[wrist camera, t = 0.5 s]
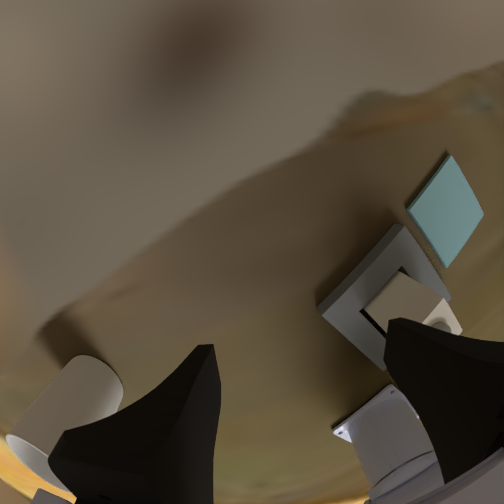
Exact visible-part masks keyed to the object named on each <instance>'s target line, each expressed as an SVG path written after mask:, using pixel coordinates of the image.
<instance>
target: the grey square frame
mask: <svg viewBox="0 0 504 504" xmlns="http://www.w3.org/2000/svg"><path fill="white" fill-rule="evenodd" d="M398 269H400V271H401V272H402V273H403V274H405V275H407V276H408V277H410V278H412V279H414V280H415V281H417V282H419V283H420V284H422V285H424V286H426V287H427V288H429V289H431V290H432V291H434V292H436V293H437V294H439V295H441V296H442V297H444V299H445V300H446V302H447V303H448V302H449V300H450V299H451V298H452V297H451V296H450V294H449V292H448V290H447V289H446V287H445V285H444V284H443V282H442V280H441V279H440V277H439V276H438V274H437V272H436V271H435V269H434V268H433V266H432V264H431V263H430V261H429V260H428V258H427V257H426V255H425V254H424V252H423V251H422V249H421V248H420V246H419V245H418V243H417V242H416V241H415V239H414V238H413V236H412V235H411V234H410V232H409V231H408V229H407V228H406V227H405V226H404V225H400V224H397V223H395V224H394V225H393V226H392V227H391V228H390V229H389V231H388V232H387V233H386V234H385V235H384V236H383V237H382V239H381V240H380V241H379V242H378V243H377V244H376V245H375V246H374V248H373V249H372V250H371V251H370V252H369V253H368V254H367V255H366V256H365V258H364V259H363V260H362V261H361V262H360V263H359V264H358V265H357V266H356V267H355V268H354V269H353V270H352V271H351V273H350V274H349V275H348V276H347V277H346V278H345V279H344V280H343V281H342V282H341V283H340V284H339V285H338V286H337V287H336V288H335V289H334V290H333V291H332V292H331V293H330V294H329V295H328V296H327V297H326V298H325V299H324V300H323V301H322V302H321V303H320V304H319V305H318V306H317V309H318V311H319V312H320V314H321V315H322V316H323V317H324V318H325V319H326V320H327V321H328V322H329V323H330V324H331V325H333V326H334V327H335V328H336V329H337V330H338V331H339V332H340V333H341V334H342V335H344V336H345V337H346V338H347V339H348V340H349V341H350V342H351V343H352V344H353V345H355V346H356V347H357V348H358V349H359V350H360V351H361V352H362V353H363V354H364V355H366V356H367V357H368V358H369V359H370V360H371V361H372V362H373V363H374V364H375V365H377V366H378V367H379V368H380V369H381V370H382V371H384V370H385V369H387V367H386V365H385V363H384V361H383V357H384V350H385V343H386V336H387V333H386V332H385V333H384V334H383V335H381V334H380V332H379V331H378V330H377V329H376V328H375V327H374V326H373V325H372V324H371V323H370V322H369V321H368V320H367V319H366V318H365V317H364V316H363V315H362V314H361V313H360V312H359V311H360V310H361V309H362V308H363V307H364V306H365V305H366V304H367V303H368V302H369V301H370V300H371V299H372V298H373V297H374V296H375V294H376V293H377V292H378V291H379V290H380V289H381V288H382V287H383V286H384V285H385V284H386V283H387V281H388V280H389V279H390V278H391V277H392V276H393V275H394V274H395V273H396V271H397V270H398Z"/></svg>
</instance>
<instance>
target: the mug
mask: <svg viewBox="0 0 504 504" xmlns="http://www.w3.org/2000/svg"><path fill="white" fill-rule="evenodd" d="M122 397H123V387H122V384H121V381H120V379H119V378H118V376H117V375H116V374H115V372H114V371H113V370H112V369H111V368H110V367H109V366H108V365H106V364H105V363H104V362H102V361H100V360H99V359H96V358H94V357H91V356H87V355H79V356H76V357H74V358H73V359H71V360H70V362H69V363H68V364H67V365H66V366H65V367H64V368H63V369H62V370H61V371H60V372H59V373H58V374H57V375H56V377H55V378H54V379H53V380H52V381H51V382H50V383H49V384H48V386H47V387H46V388H45V389H44V390H43V391H42V393H41V394H40V395H39V396H38V397H37V398H36V399H35V401H34V402H33V403H32V404H31V405H30V406H29V408H28V409H27V410H26V411H25V412H24V414H23V415H22V416H21V417H20V418H19V420H18V421H17V422H16V423H15V425H14V426H13V427H12V429H11V430H10V432H9V433H8V434H7V435H6V441H7V444H8V446H9V447H10V449H11V450H12V452H13V453H14V454H15V455H16V457H17V458H18V459H19V460H20V461H21V462H22V463H23V464H24V465H25V466H26V467H27V468H29V469H30V470H31V471H32V472H33V473H35V474H36V475H37V476H39V477H40V478H42V479H43V480H45V481H46V482H48V483H49V484H51V485H53V486H55V487H57V488H59V489H61V490H63V491H66V492H69V493H71V492H70V491H69V490H68V489H67V488H66V487H65V486H64V485H63V484H62V483H61V481H60V480H59V479H58V478H57V477H56V476H55V475H54V473H53V472H52V471H51V469H50V467H49V464H48V457H49V455H50V453H51V452H52V450H53V448H54V447H55V445H56V443H57V442H58V440H59V438H60V437H61V435H62V433H63V432H64V430H68V429H72V428H76V427H79V426H83V425H86V424H90V423H93V422H95V421H98V420H101V419H103V418H106V417H108V416H110V415H112V414H114V413H116V411H117V409H118V407H119V404H120V402H121V400H122Z"/></svg>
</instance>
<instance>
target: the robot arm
mask: <svg viewBox="0 0 504 504" xmlns="http://www.w3.org/2000/svg"><path fill="white" fill-rule="evenodd" d="M383 361H384V363H385V365H386V367H387V369H388V371H389V373H390V375H391V377H392V378H393V380H394V381H395V383H396V384H397V386H398V387H399V388H400V390H401V391H402V392H400V391H399V390H398V389H397V388H396V387H395V386H394V385H392V384H390V385H388V386H386V387H385V388H384V389H383V390H382V391H381V392H379V393H378V394H377V395H376V396H375V397H374V398H372V399H371V400H370V401H369V402H368V403H366V404H365V405H364V406H363V407H361V408H360V409H359V410H358V411H356V412H355V413H354V414H352V415H351V416H350V417H349V418H347V419H346V420H345V421H343V422H342V423H340V424H339V425H338V426H336V427H335V428H334V429H333V430H332V431H333V434H335V435H337V436H339V437H341V438H343V439H345V440H347V441H349V442H351V443H353V446H354V448H355V450H356V453H357V455H358V458H359V460H360V463H361V465H362V467H363V470H364V472H365V475H366V477H367V480H368V482H369V485H370V487H371V489H370V490H368V491H367V492H368V495H369V497H370V499H368V500H366V501H365V502H364V504H504V342H496V341H485V340H479V339H473V338H468V337H464V336H460V335H456V334H453V333H449V332H446V331H443V330H440V329H437V328H434V327H431V326H428V325H425V324H422V323H419V322H416V321H413V320H410V319H406V318H402V317H399V318H395V319H390V320H388V328H387V336H386V343H385V350H384V357H383ZM220 407H221V381H220V376H219V371H218V366H217V361H216V355H215V350H214V345H213V344H205V345H198V346H197V347H196V348H195V349H194V350H193V351H192V352H191V353H190V354H189V355H188V357H187V358H186V359H185V360H184V361H183V362H182V363H181V364H180V365H179V366H178V367H177V368H176V369H175V371H174V372H173V373H171V374H170V375H169V376H168V377H167V378H166V379H165V380H164V381H163V382H162V383H161V384H160V385H158V386H157V387H156V388H155V389H153V390H152V391H151V392H149V393H148V394H147V395H145V396H144V397H142V398H141V399H139V400H138V401H136V402H135V403H133V404H131V405H129V406H128V407H126V408H124V409H122V410H120V411H119V412H117V413H114V414H112V415H110V416H108V417H106V418H103V419H101V420H98V421H95V422H93V423H90V424H86V425H83V426H79V427H76V428H72V429H68V430H64V432H63V433H62V435H61V437H60V438H59V440H58V442H57V443H56V445H55V447H54V448H53V450H52V452H51V453H50V455H49V457H48V464H49V467H50V469H51V471H52V472H53V473H54V475H55V476H56V477H57V478H58V479H59V480H60V481H61V483H62V484H63V485H64V486H65V487H66V488H67V489H68V490H69V491H70V492H71V493H72V494H73V495H74V496H75V497H77V499H76V502H75V504H213V457H214V447H215V440H216V434H217V427H218V421H219V414H220ZM418 418H420V420H421V422H422V424H423V426H424V427H423V426H422V424H421V423H420V422H419V420H418ZM424 428H425V429H424ZM31 504H72V503H71V502H69V501H67V500H65V499H63V498H61V497H59V496H56V495H54V494H52V493H49V492H47V491H45V490H43V489H38V490H37V492H36V494H35V496H34V498H33V500H32V502H31Z"/></svg>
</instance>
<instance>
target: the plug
mask: <svg viewBox="0 0 504 504" xmlns="http://www.w3.org/2000/svg"><path fill="white" fill-rule="evenodd" d="M363 309H364V310H365V311H366V312H367V313H368V314H369V315H370V316H371V317H372V318H373V319H374V320H375V321H376V323H377V324H378V325H379V326H380V327H381V328H382V329H383V330H384V331H385V332H386V333H387V328H388V320H390V319H395V318H399V317H402V318H406V319H410V320H413V321H416V322H419V323H422V324H425V325H428V326H431V327H434V328H437V329H440V330H443V331H446V332H449V333H453V334H456V335H460V333H461V332H462V331H463V330H462V328H461V327H460V325H459V323H458V321H457V319H456V318H455V316H454V314H453V312H452V311H451V309H450V307H449V305H448V304H447V302H446V300H445V299H444V297H442V296H441V295H439V294H437V293H436V292H434V291H432V290H431V289H429V288H427V287H426V286H424V285H422V284H420V283H419V282H417V281H415V280H414V279H412V278H410V277H408V276H407V275H405V274H403V273H401V272H400V271H398V270H397V271H396V273H395V274H394V275H393V276H392V277H391V278H390V279H389V280H388V281H387V283H386V284H385V285H384V286H383V287H382V288H381V289H380V290H379V291H378V292H377V293H376V294H375V296H374V297H373V298H372V299H371V300H370V301H369V302H368V303H367V304H366V305H365V306H364V307H363Z"/></svg>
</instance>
